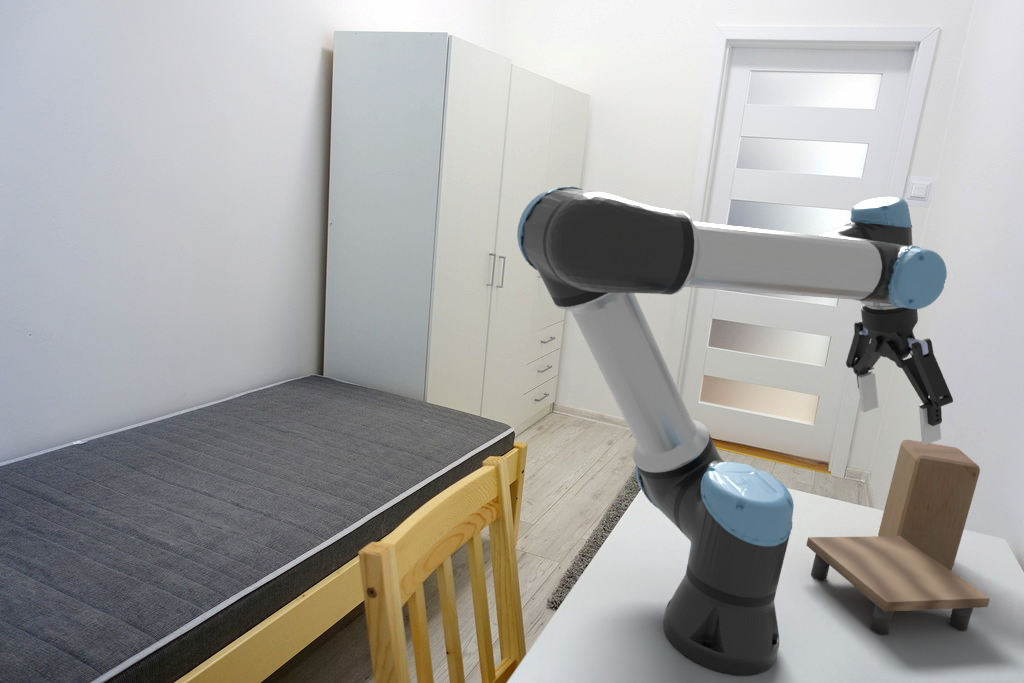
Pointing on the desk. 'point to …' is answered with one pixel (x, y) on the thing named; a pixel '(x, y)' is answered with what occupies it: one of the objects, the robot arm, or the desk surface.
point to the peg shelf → (896, 578)
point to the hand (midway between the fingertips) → (898, 424)
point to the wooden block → (930, 498)
